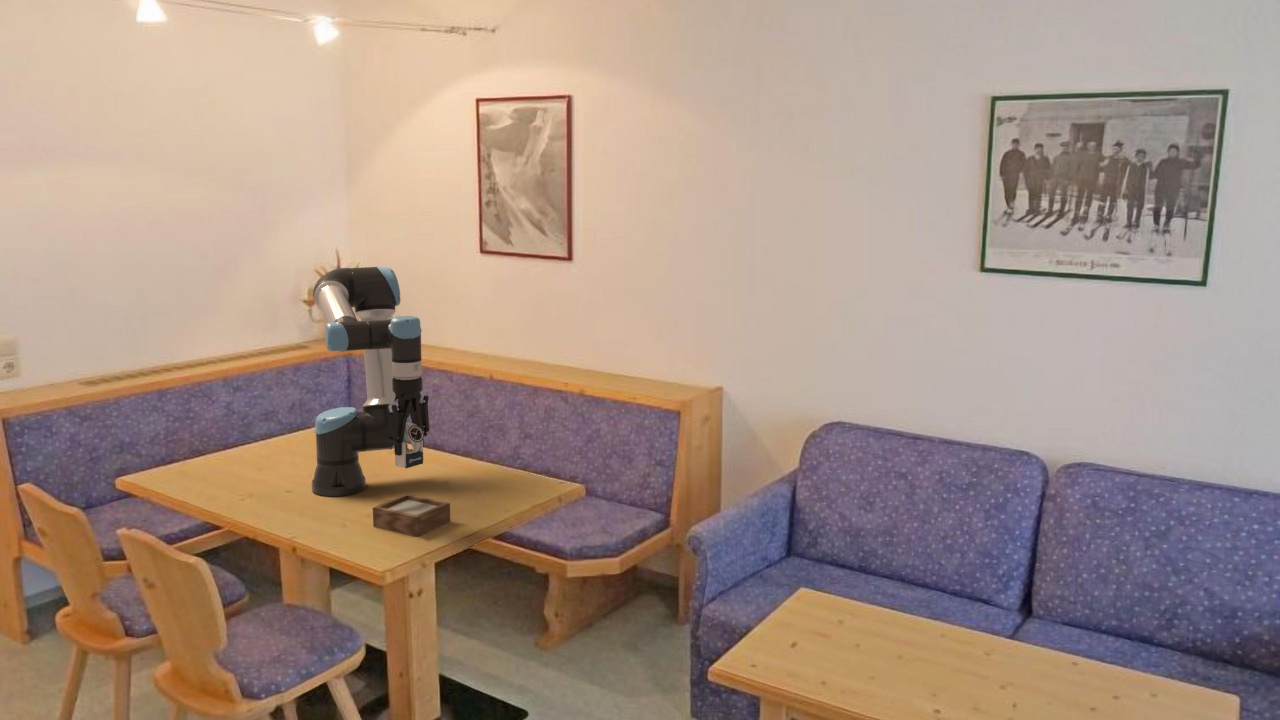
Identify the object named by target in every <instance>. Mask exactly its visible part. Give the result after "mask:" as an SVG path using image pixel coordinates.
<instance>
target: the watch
mask: <svg viewBox="0 0 1280 720" xmlns="http://www.w3.org/2000/svg"><path fill="white" fill-rule="evenodd" d="M405 429H406V437H407V439H408V442H409V443H410V444H411V446H412V448H411V449H410V448H409V446H408V444H407V443H408V442H407V443H406V440H405V437H404V438H403V442H404V443H405V447H406V467H405V468H404V469H409V468H413V467H416V466H419V465H422V464H423V465H424V451H423V452H421V451H419V450H420V448H421V446H422V444H423V439H425V436H424V432H423V431H422V429H421V428H420V427H419V426H417V425H416V424H414V423H412V421H410V422H408V423H406V427H405ZM398 438H399V437H398ZM413 447H414V449H413ZM394 456H395V459H396V455H395V454H394Z"/></svg>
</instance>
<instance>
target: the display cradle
mask: <svg viewBox="0 0 1280 720" xmlns="http://www.w3.org/2000/svg"><path fill="white" fill-rule="evenodd" d="M448 523H451V502H447V501H442V500H439V499H433V498H427V497H424V496H419V495H414V494H409V493H405V494H402V495H400V496H398V497H395V498H393V499H390V500H388V501H385V502H382V503H380V504H378V505H375V506H373V507H372V525H373V527H375V528H378V529H383V530H386V531H387V530H388V531H391V532H396V533H400V534H403V535H409V536H412V537H416V538H417V537H418V538H419V537H421V536H422V535H425V534H427V533H430V532H431V531H433V530H435V529H438V528H440V527H442V526H444V525H446V524H448Z"/></svg>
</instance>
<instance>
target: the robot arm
mask: <svg viewBox="0 0 1280 720" xmlns="http://www.w3.org/2000/svg"><path fill="white" fill-rule="evenodd" d="M400 290H401V289H400V284H399V281H398V277H397V275H396V273H395V272H394V270H393V269H392V268H390V267H388V266H387V267H383V266H370V267H369V266H368V267H340V268H336V269H332V270H330V271H328V272H326V273H325V274H323V275H322V276H321V277H320V278H319V279H318V280H317V281H316V282H315V284H314V287H313V290H312V299H313V301H314V304H315V306H316V307H317V308H318V309H319V310H320V311H322V313H323V316H324V319H325V321H326V324H325V327H324V338H325V339H324V340H325V346H326V350H328V351H330V352H341V353H343V352H350V351H351V352H352V351H353V352H354V351H363V359H364V372H365V384H366V386H365V387H366V394H367V395H366V396H367V397H366V398H367V399H366V401H365V402H364V403H363V404H362V411H360V412H358V410H357V409H356V408H355V407H353V406H352V407H351V406H347V407H346V406H341V407H336V408H331V409H328V410H325V411H322V412H321V413H319V414H318V415H317V416H316V418H315V423H314V424H315V427H314V428H315V429H314V434H315V443H316V444H315V445H316V467H315V471H314V476H313V479H312V481H311V491H312V493H313V494H316V495H319V496H322V497H323V496H324V497H340V496H341V497H342V496H349V495H353V494H357V493H359V492H361V491H364V490H365V488H366V486H367V484H366V483H367V482H366V481H367V480H366V477H365V475H364V473H363V469H362V466H361V464H360V459H359V453H364V452H374V451H384V450H386V451H387V450H393V449H394V456H395V455H396V458H395V467H399V468H404V469H406V468H405V467H406V447H405V443H404V442H403V438H404V437H405V440H406V443H408V442H409V441H408V439H407V437H406V429H405V427H406V423H408V422H411V423H414V424H416V425H417V426H419V427H420V428H421V429H422V431H423V432H424V437H427V435H428V433H429V431H430V420H429V418H430V417H429V405H428V404H429V399H430V398H429V395H424V394H421V392H422V391H423V378H422V375H423V374H422V373H423V371H422V370H423V369H422V366H423V365H422V328H421V320H420V318H419V317H417V316H413V315H401V316H400V315H399V316H394V317H392V316H393V315H394V314H395V313H396V307H398V306H400V305H401V291H400ZM353 308H354V310H353ZM357 317H358V318H359V319H360V321H359V320H358V318H357ZM398 437H399V438H398ZM424 439H425V438H424ZM424 439H423V444H422V446H421V448H420V450H419V451H421V452H423V453H424V446H425V442H424V441H425V440H424ZM412 449H414V447H412Z"/></svg>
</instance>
